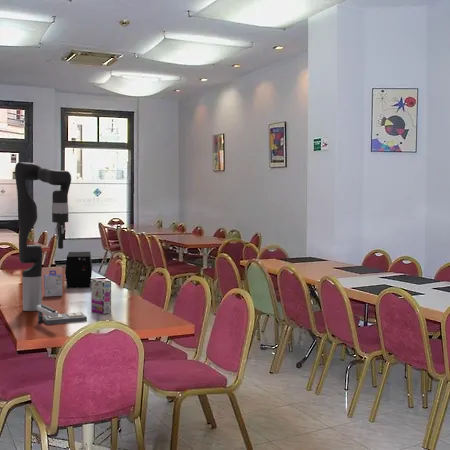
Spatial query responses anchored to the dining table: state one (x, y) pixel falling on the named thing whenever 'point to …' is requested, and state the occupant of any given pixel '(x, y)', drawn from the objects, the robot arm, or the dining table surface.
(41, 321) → the pivot post
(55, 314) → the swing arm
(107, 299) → the candy bar box
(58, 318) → the label panel
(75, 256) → the uninterruptible power supply
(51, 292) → the ink cartridge box
